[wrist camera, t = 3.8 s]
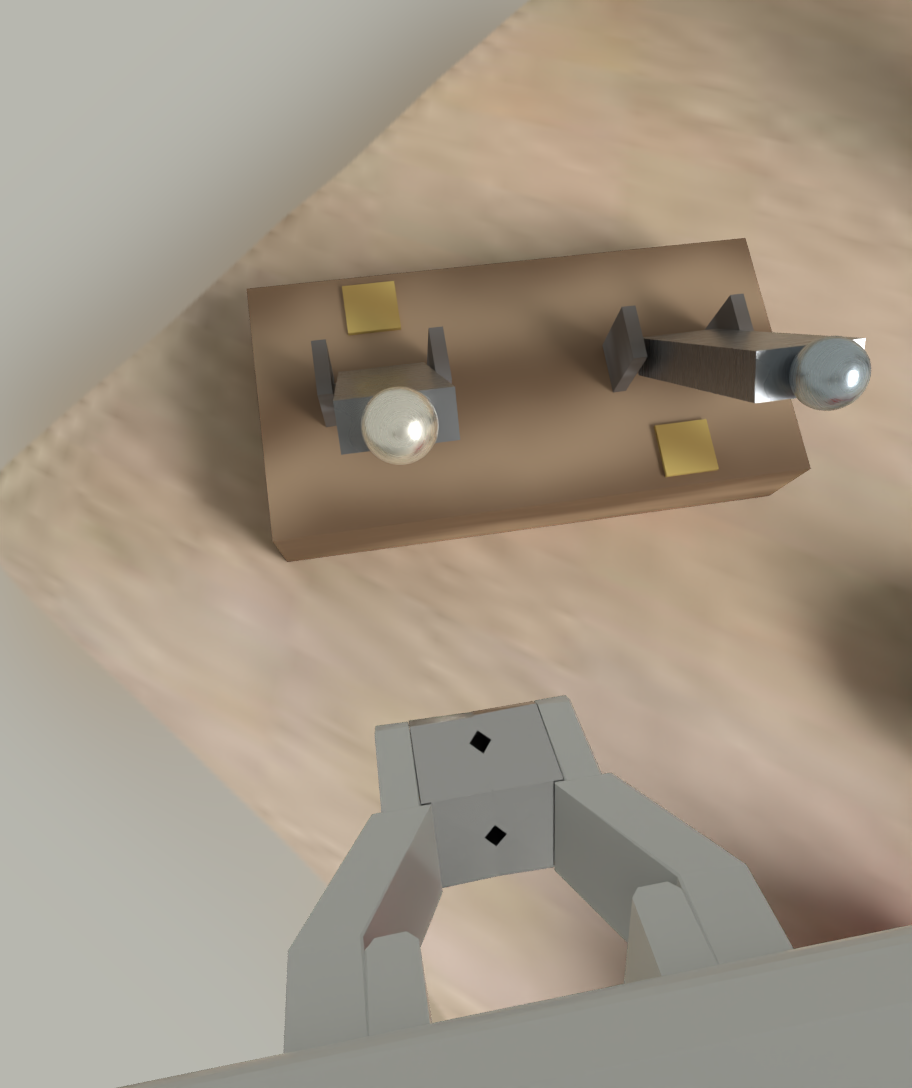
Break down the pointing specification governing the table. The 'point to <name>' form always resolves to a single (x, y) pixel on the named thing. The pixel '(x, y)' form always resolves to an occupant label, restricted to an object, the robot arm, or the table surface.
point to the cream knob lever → (394, 411)
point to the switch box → (513, 397)
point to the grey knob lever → (762, 365)
